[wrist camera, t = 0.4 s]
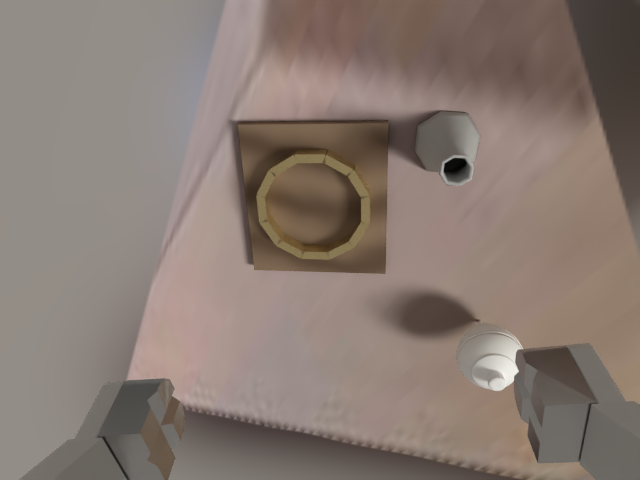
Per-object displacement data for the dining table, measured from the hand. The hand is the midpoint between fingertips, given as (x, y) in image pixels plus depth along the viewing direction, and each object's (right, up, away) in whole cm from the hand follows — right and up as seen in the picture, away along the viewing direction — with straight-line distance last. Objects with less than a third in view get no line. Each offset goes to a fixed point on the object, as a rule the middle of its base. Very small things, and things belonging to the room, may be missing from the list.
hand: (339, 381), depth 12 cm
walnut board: (-1, +8, +49) cm, 50 cm away
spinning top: (+21, -7, +54) cm, 58 cm away
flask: (+14, +14, +44) cm, 48 cm away
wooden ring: (-1, +8, +48) cm, 48 cm away
